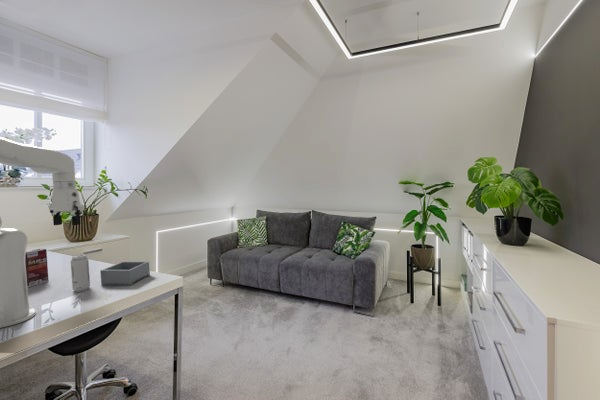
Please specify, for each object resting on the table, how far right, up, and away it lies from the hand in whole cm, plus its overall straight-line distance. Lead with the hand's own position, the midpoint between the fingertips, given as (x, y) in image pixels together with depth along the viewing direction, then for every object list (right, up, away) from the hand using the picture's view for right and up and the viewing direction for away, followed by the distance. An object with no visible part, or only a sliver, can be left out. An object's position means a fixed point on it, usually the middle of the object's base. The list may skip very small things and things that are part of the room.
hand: (67, 224), depth 122 cm
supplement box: (-22, -29, +8) cm, 37 cm away
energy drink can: (+6, -29, 0) cm, 29 cm away
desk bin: (+19, -27, +11) cm, 35 cm away
